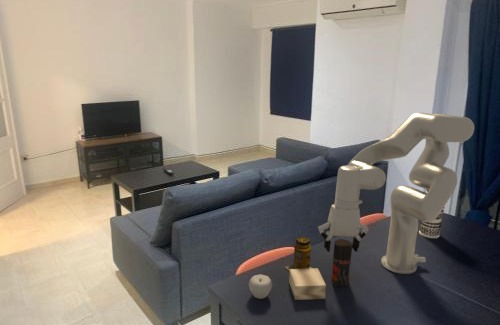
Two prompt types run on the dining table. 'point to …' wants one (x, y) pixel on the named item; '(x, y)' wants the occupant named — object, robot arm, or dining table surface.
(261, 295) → the apple
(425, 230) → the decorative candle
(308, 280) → the block
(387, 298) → the dining table surface
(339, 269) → the deodorant
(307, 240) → the condiment
